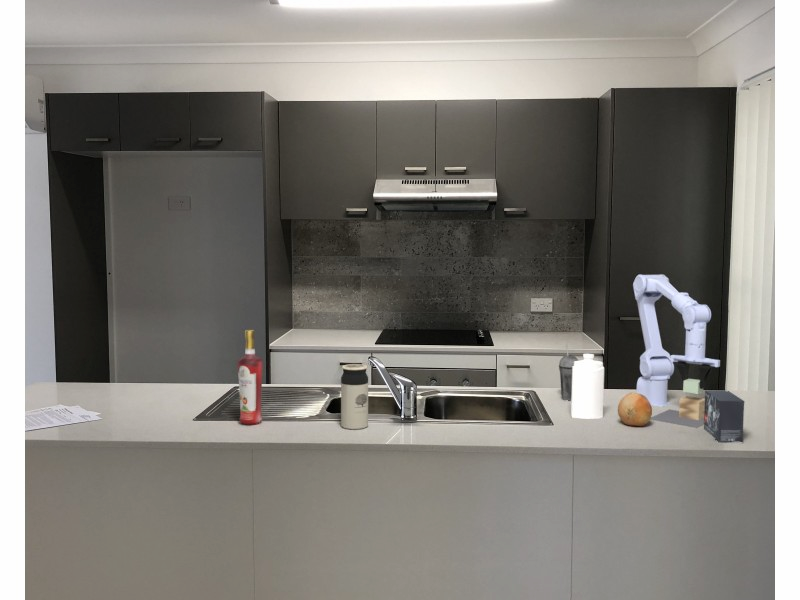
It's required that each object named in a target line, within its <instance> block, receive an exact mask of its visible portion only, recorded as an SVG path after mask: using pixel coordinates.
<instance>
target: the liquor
mask: <svg viewBox="0 0 800 600" xmlns="http://www.w3.org/2000/svg"><path fill="white" fill-rule="evenodd" d="M244 337H245V350H244V351H245V352H244V356H243V357H242V356H241V358H240V359H238V360H237V373H238V374H237V375H238V377H237V378H238V387H239V388H238V390H239V407H240V410H239V411H240V416H239V421H240V422H241V423H242V424H243V425H246V426H255V425H258V424H259V423H260V422H261V421H262V420H263V416H262V388H263V387H262V385H263V363H264V360H263V359H262V358H260V357H259V356H256V349H255V342H254V341H255V340H254V339H255V330H254V329H246V330H245V331H244Z"/></svg>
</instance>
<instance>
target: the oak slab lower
mask: <svg viewBox="0 0 800 600" xmlns="http://www.w3.org/2000/svg"><path fill="white" fill-rule="evenodd" d="M678 408H679V407H678ZM678 411H679V417H683V418H689V419H695V420H700V419H702V418H704V409H702V410H700V411H695V410H689V409H683V408H679V409H678Z"/></svg>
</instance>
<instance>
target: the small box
mask: <svg viewBox="0 0 800 600" xmlns="http://www.w3.org/2000/svg"><path fill="white" fill-rule="evenodd" d="M704 399H705V409H704V425H703V430H705V431H706V433H708V434H709V435H711V436H712V437H713V438H714V439H715V441H716V440H717V441H718V443H727V442H737V443H739V442H743V443H744V415H745V400H743V399H742V398H740V397H739V396H737V395H736V394H735V393H733V392H731V391H730V390H705V391H704ZM717 441H716V442H717Z"/></svg>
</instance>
